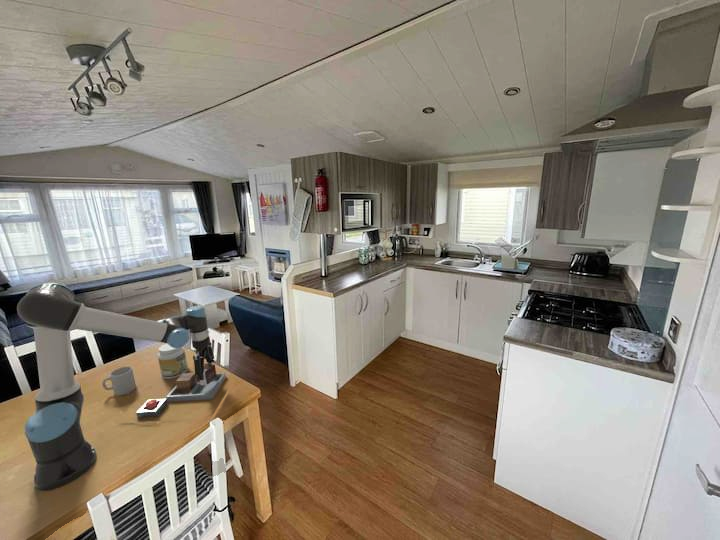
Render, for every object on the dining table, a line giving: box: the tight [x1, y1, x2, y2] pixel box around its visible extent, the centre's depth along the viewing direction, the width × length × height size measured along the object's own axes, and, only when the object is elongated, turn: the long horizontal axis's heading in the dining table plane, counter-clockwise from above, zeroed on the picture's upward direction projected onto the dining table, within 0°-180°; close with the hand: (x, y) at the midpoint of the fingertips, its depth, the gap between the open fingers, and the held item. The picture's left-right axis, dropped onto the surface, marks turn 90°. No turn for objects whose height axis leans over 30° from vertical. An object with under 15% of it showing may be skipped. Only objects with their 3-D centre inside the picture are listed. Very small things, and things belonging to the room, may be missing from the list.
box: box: [197, 362, 217, 384], centre depth 137 cm, size 6×6×7 cm
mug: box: [101, 366, 137, 397], centre depth 137 cm, size 12×8×11 cm
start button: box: [145, 398, 158, 409], centre depth 123 cm, size 4×4×4 cm
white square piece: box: [135, 398, 168, 419], centre depth 124 cm, size 8×8×4 cm
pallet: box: [165, 372, 227, 403], centre depth 138 cm, size 17×21×4 cm
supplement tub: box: [157, 343, 189, 380], centre depth 151 cm, size 12×12×17 cm
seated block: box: [175, 372, 197, 394], centre depth 137 cm, size 6×6×7 cm
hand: (207, 379), depth 138 cm, fingers closed on box, 7 cm apart
